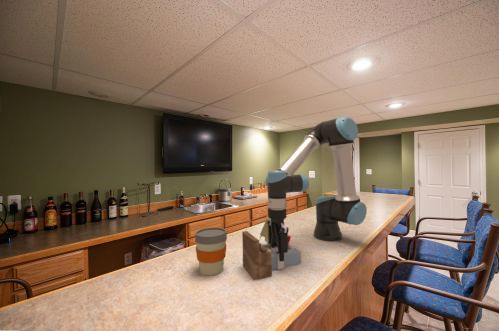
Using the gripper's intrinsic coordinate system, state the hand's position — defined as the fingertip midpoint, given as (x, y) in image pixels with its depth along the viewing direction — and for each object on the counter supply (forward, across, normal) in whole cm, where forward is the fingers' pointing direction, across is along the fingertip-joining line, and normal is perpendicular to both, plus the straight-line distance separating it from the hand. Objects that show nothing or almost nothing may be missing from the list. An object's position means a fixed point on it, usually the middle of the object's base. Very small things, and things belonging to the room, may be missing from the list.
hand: (277, 265), depth 85 cm
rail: (0, 0, 0) cm, 0 cm away
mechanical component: (0, -18, +11) cm, 21 cm away
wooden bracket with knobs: (0, 0, -8) cm, 8 cm away
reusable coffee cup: (+1, -8, -25) cm, 27 cm away
